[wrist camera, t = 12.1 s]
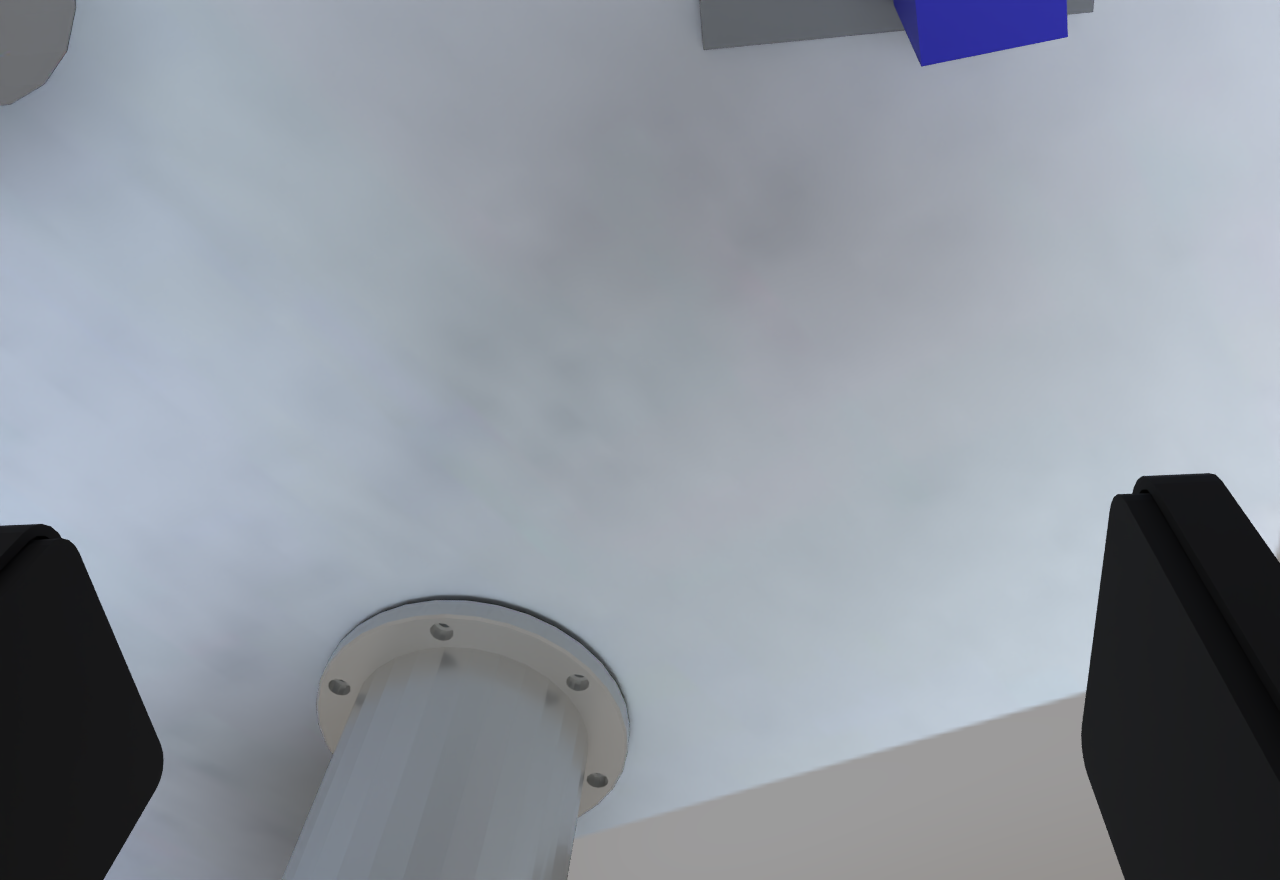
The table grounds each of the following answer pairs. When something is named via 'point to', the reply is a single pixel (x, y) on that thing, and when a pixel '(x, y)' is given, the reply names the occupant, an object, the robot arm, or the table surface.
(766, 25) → the mat
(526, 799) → the robot arm
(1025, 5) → the cable clip
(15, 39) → the lava lamp
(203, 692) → the table surface
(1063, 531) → the table surface
